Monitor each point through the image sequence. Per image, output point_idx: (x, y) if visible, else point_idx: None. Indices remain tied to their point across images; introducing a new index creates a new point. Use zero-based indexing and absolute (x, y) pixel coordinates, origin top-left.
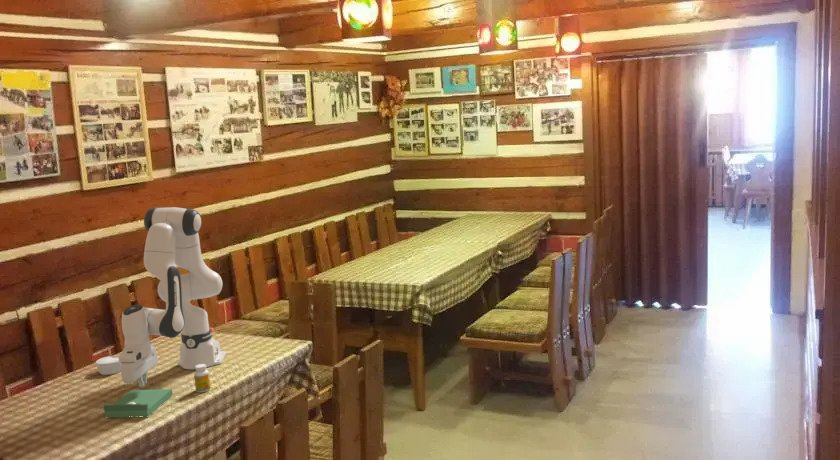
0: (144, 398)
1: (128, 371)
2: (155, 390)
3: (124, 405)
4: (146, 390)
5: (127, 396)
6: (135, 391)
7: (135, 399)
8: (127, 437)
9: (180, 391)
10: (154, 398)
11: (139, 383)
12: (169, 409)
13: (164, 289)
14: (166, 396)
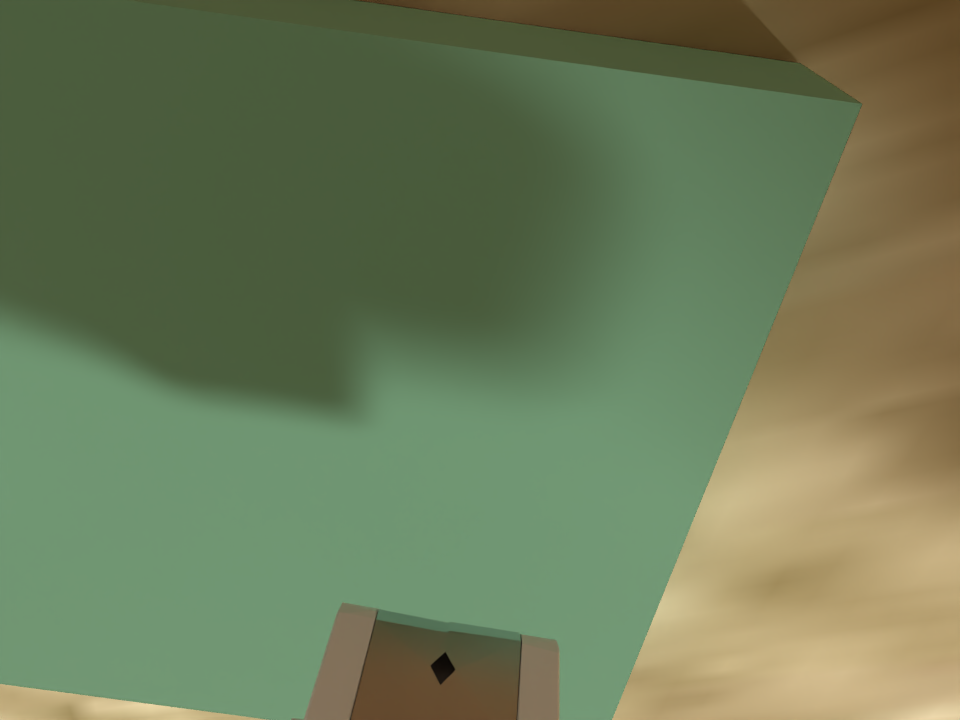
0: (217, 536)
1: None
2: (605, 605)
3: None
4: (665, 471)
5: (335, 170)
6: (682, 258)
7: (157, 408)
8: None
9: (720, 713)
10: (227, 652)
11: (320, 691)
12: (138, 702)
13: None
14: None
